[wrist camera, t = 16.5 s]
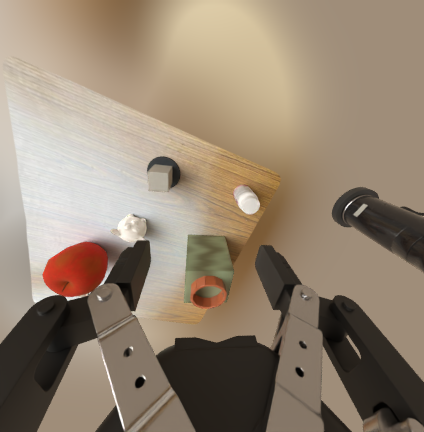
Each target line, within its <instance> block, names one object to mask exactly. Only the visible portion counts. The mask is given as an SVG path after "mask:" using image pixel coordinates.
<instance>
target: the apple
mask: <svg viewBox="0 0 424 432" xmlns="http://www.w3.org/2000/svg"><path fill="white" fill-rule="evenodd" d="M107 264H108V257H107V253H106V252H105V250H104V249H103V248H101V247H100V246H99V245H97V244H94V243H91V242H82V243H79V244H76V245H73V246H70V247H68V248H66V249H64V250H63V251H61V252H60V253H58V254H57V255H55V256H54V257H52V258H51V259H49V260H48V262H47V265H46V267H45V270H44V272H43V279H44V282H45V283H46V285H47V286H48V287H49V288H50V289H51V290H52V291H54V292H55V293H57V294H59V295H62V296H65V297H74V296H80V295H84V294H87V293H89V292H91V291H93V290H94V289H95V288H96V287H98V286H99V285H100V283H101V282H102V280H103V279H104V277H105V274H106V271H107Z"/></svg>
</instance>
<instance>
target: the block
mask: <svg viewBox="0 0 424 432" xmlns="http://www.w3.org/2000/svg"><path fill="white" fill-rule="evenodd" d="M147 173H148V188H149V191H157V192H169V190H170V187H171V184H172V166H168V165H157V164H155V165H154V166H153V167H152V168H151V169H150V170H149V171H148V172H147Z"/></svg>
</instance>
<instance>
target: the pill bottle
mask: <svg viewBox="0 0 424 432" xmlns="http://www.w3.org/2000/svg"><path fill="white" fill-rule="evenodd" d="M233 195H234V198H235V200H236V202H237V204H238V206H239V207H240V209H242V210H243V211H244V212H245V213H246V214H254V213H255V212H257V211H258V209H259V207H260V203H259V201H258V197H257V196H256V194H255V193H254V192H253V191H252V190H251V189H250V187H248V186H247V185H239V186H238V187H236V188H235V190H234V193H233Z"/></svg>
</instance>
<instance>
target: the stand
mask: <svg viewBox="0 0 424 432" xmlns="http://www.w3.org/2000/svg"><path fill="white" fill-rule="evenodd" d="M233 274H234V269H233V266H232V262H231V258H230V254H229V251H228V247H227V243H226V239H225V236H204V235H188V242H187V258H186V274H185V292H184V303H192V302H191V301H190V291H191V284H192V283H193V282H194V281H195V280H196V279H198V278H201V277H203V276H216V277H218V278H220V279H222V280H223V282H224V284H225V286H226V291H227V296H226V300H225V301H224V302H227V300H228V295H229V291H230V287H231V283H232V278H233ZM221 291H222V290H221V289H219V288H217V287H203V288H201V289H198V290H197V291H196V292H195V294H196V295H197V296H200V297H202V298H211V297H213V296H216V295H218V294H219V293H220V292H221Z"/></svg>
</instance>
